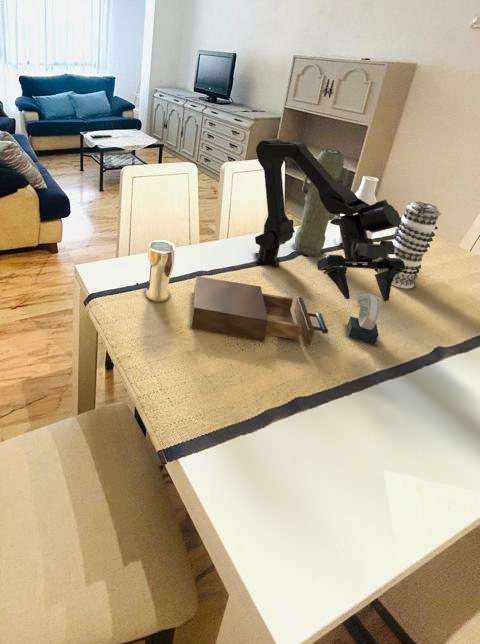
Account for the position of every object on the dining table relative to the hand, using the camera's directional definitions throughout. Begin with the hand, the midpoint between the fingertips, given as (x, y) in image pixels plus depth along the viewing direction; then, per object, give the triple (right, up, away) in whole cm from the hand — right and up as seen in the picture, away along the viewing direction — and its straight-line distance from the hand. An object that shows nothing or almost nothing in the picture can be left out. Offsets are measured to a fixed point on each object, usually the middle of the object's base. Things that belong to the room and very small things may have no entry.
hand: (367, 300), depth 92 cm
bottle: (+23, +7, +45) cm, 51 cm away
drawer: (-20, -7, +3) cm, 21 cm away
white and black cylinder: (+25, -1, +26) cm, 36 cm away
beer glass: (-49, -2, +13) cm, 51 cm away
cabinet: (-32, -6, +6) cm, 33 cm away
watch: (-1, -9, +2) cm, 9 cm away
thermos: (+5, +6, +41) cm, 41 cm away
